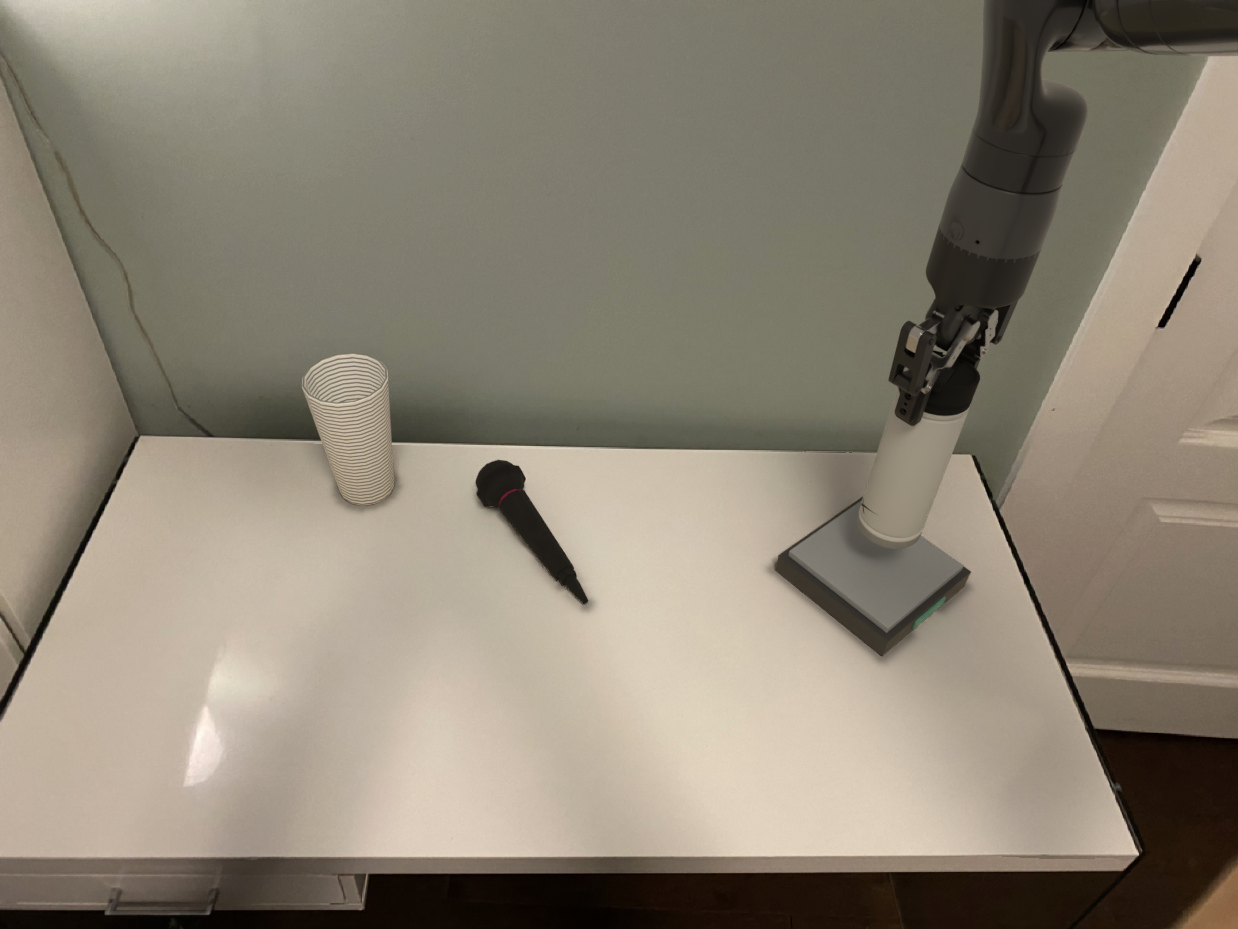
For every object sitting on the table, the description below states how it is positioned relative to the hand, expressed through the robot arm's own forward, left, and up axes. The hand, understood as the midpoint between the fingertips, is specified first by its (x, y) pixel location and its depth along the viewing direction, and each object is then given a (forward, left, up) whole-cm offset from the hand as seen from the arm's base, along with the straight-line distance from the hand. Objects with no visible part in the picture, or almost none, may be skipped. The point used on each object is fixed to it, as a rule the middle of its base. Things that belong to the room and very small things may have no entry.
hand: (931, 403), depth 79 cm
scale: (0, 0, -24) cm, 24 cm away
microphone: (+26, +25, -24) cm, 43 cm away
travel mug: (0, 0, -16) cm, 16 cm away
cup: (+44, +34, -24) cm, 61 cm away
